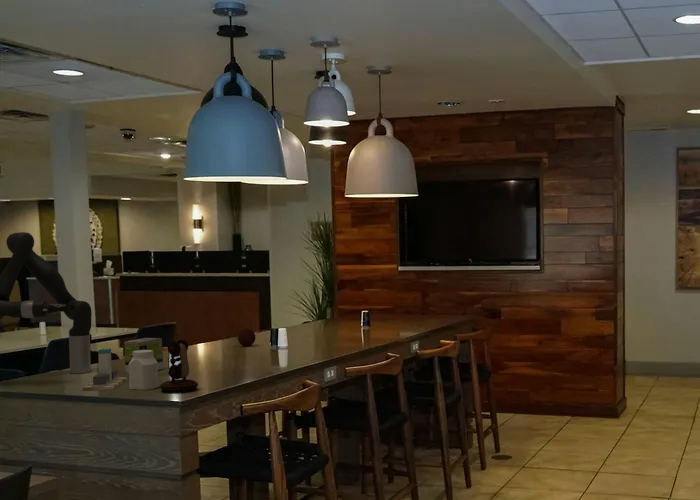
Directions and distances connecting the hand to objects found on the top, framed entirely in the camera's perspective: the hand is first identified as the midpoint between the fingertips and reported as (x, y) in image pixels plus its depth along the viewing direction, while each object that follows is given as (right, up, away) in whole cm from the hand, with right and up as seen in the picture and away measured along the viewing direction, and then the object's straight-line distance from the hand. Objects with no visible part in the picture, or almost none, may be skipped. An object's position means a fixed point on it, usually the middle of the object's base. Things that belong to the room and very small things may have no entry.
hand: (72, 308), depth 374 cm
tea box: (+24, -31, +29) cm, 49 cm away
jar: (+35, -32, -19) cm, 51 cm away
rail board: (+17, -32, -9) cm, 37 cm away
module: (+17, -30, -9) cm, 35 cm away
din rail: (+17, -30, -9) cm, 36 cm away
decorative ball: (+61, -30, +117) cm, 135 cm away
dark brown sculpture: (+52, -31, -28) cm, 66 cm away
